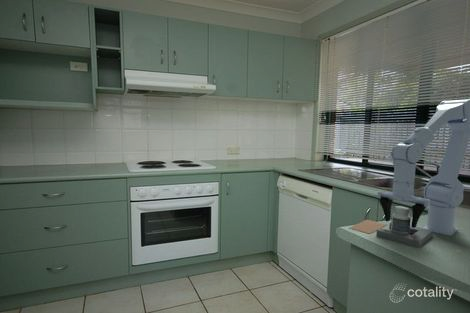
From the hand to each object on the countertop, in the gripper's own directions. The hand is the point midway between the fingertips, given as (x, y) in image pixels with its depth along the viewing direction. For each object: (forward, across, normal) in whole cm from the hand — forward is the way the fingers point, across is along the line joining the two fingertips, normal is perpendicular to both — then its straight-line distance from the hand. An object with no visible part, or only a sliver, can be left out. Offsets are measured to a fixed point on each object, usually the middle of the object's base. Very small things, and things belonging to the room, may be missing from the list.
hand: (400, 223), depth 92 cm
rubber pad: (+4, -10, 0) cm, 11 cm away
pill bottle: (+4, 0, 0) cm, 4 cm away
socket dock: (+4, 0, 0) cm, 4 cm away
